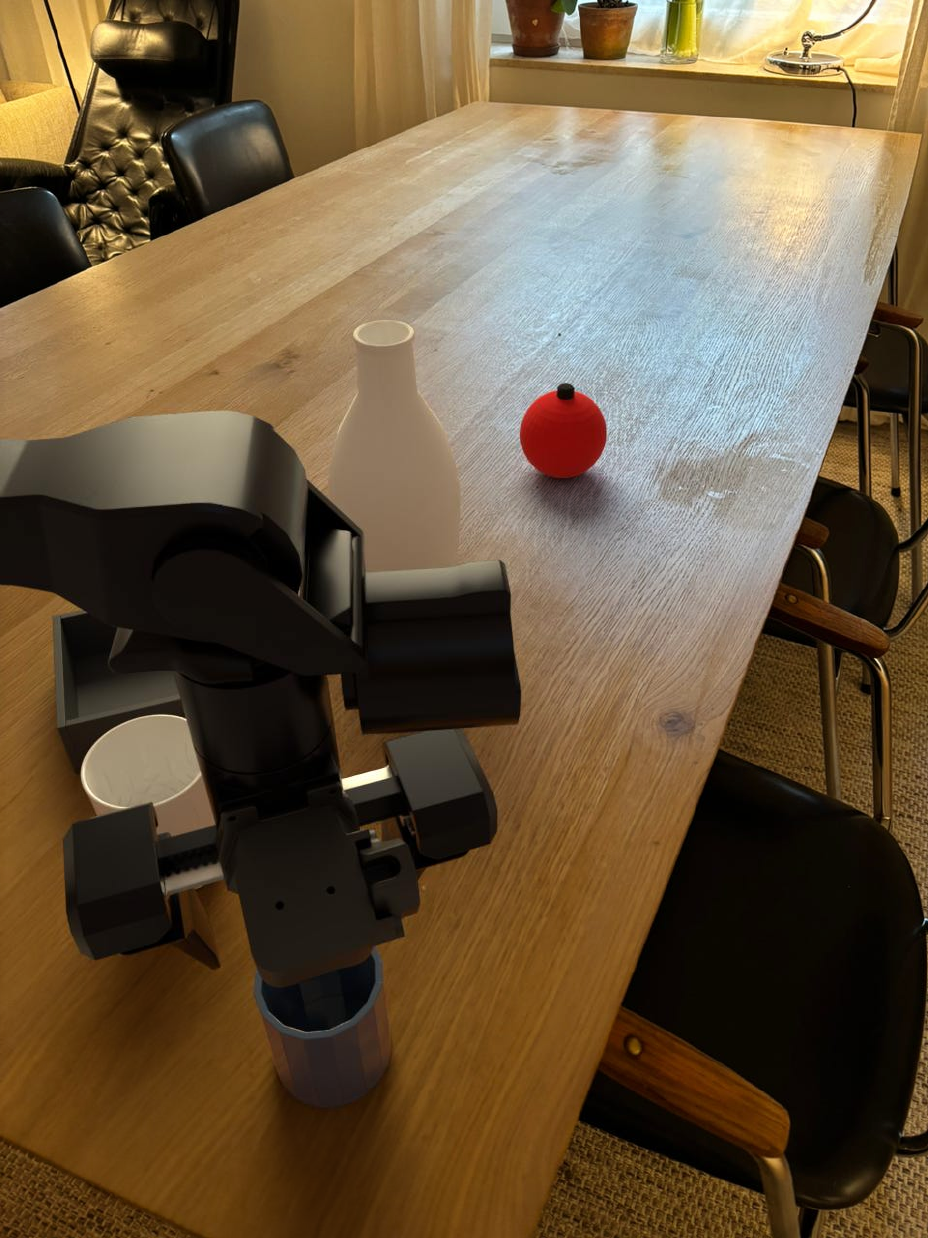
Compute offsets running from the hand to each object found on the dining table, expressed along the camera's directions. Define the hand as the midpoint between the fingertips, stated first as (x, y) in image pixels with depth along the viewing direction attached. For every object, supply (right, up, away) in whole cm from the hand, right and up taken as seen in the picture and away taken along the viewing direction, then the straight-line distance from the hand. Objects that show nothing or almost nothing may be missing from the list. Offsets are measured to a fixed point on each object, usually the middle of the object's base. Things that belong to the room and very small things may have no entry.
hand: (306, 933), depth 50 cm
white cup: (-12, 0, +18) cm, 22 cm away
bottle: (+2, +18, +39) cm, 43 cm away
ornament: (+18, +32, +55) cm, 66 cm away
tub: (-17, +10, +30) cm, 36 cm away
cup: (0, -9, +8) cm, 12 cm away
